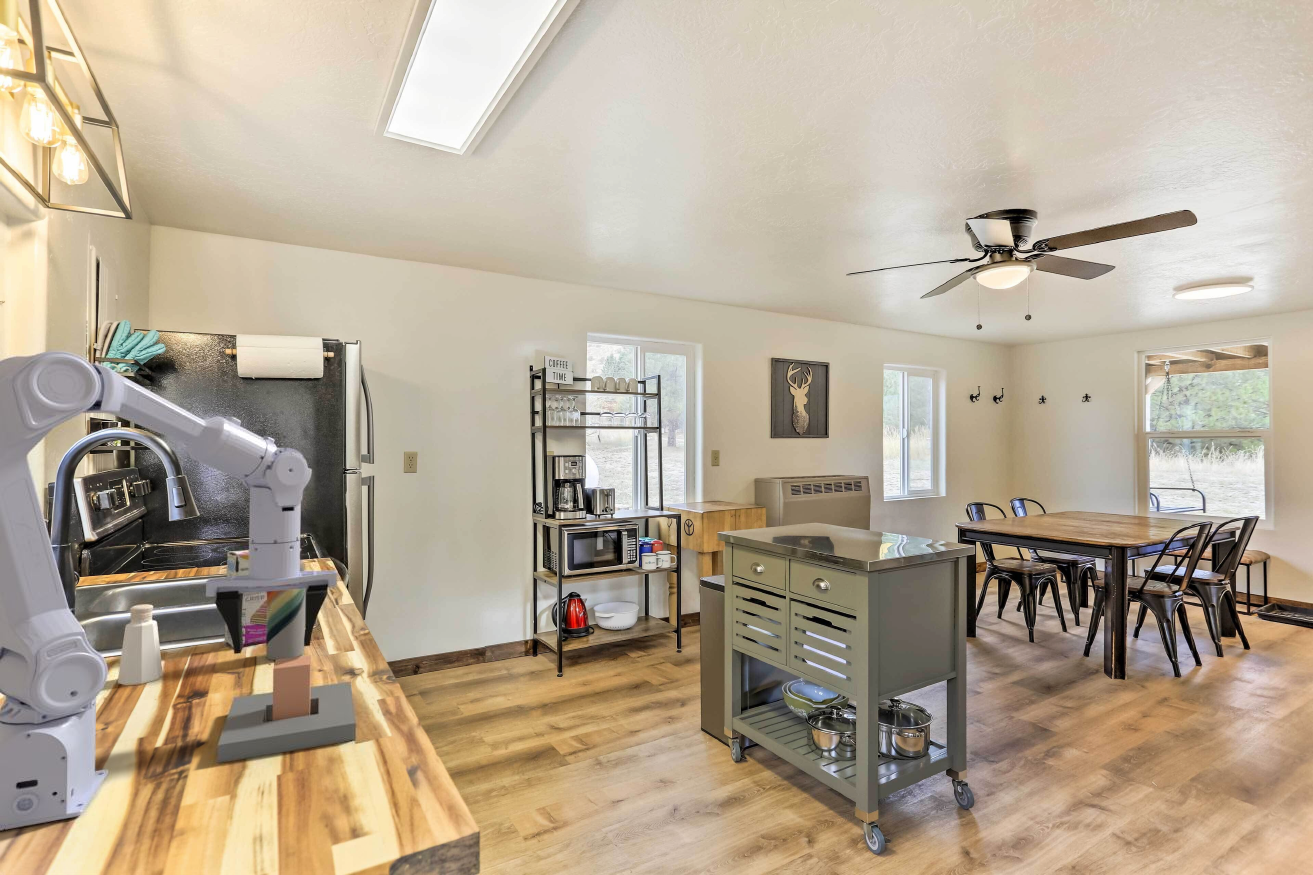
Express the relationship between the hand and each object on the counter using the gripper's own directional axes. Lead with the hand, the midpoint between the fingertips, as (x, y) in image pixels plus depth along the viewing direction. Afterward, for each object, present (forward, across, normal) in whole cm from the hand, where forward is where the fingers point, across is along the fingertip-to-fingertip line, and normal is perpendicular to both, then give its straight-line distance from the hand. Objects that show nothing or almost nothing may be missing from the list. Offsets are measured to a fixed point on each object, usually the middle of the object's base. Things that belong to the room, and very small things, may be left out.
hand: (273, 647), depth 87 cm
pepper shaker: (+10, +19, -26) cm, 34 cm away
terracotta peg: (+9, -2, +2) cm, 10 cm away
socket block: (+9, -2, +2) cm, 10 cm away
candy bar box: (+10, +4, -42) cm, 44 cm away
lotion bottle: (+10, 0, -30) cm, 32 cm away
